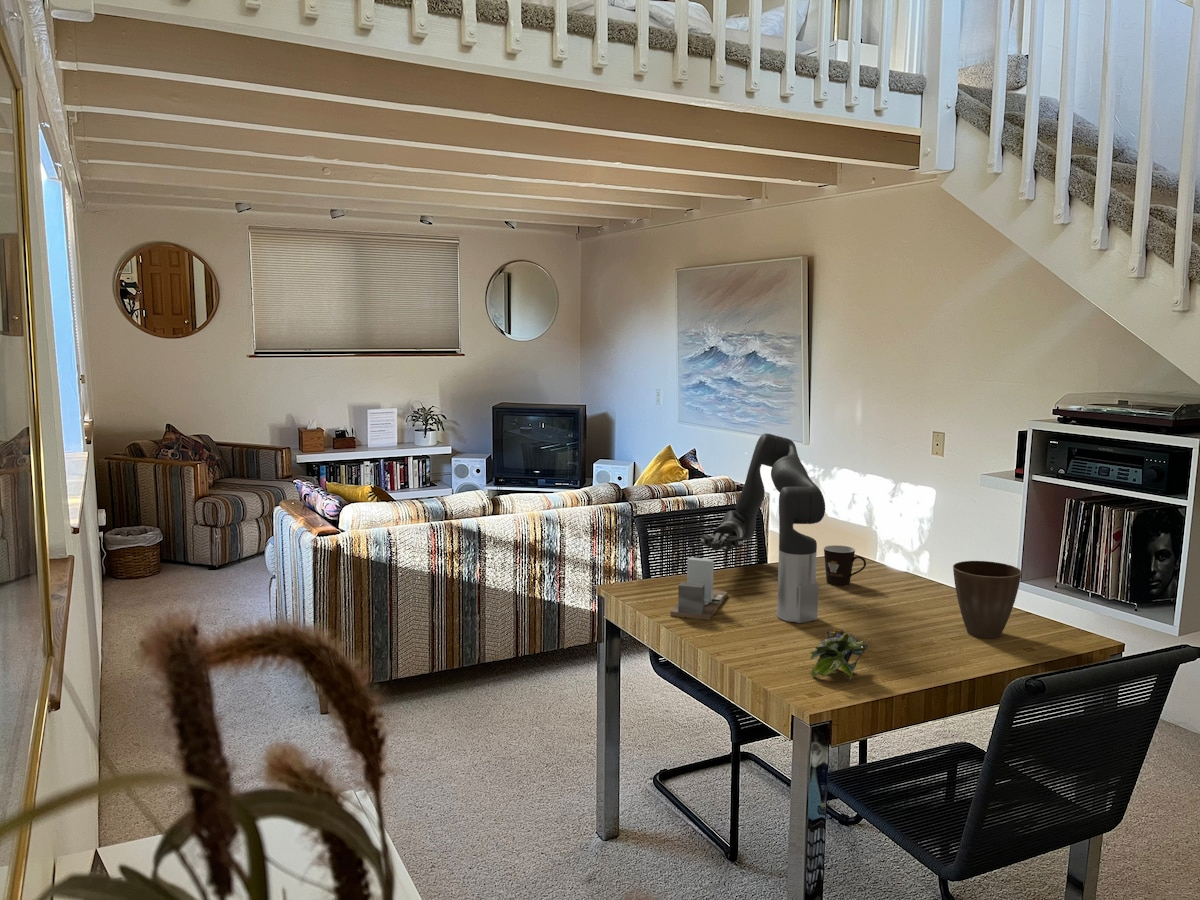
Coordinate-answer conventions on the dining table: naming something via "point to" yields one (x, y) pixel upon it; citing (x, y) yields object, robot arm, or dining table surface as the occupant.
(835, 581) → the coffee mug
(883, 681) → the dining table surface
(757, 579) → the dining table surface
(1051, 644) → the dining table surface
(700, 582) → the panel
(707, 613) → the board
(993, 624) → the plant pot
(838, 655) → the passion flower
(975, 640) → the dining table surface
